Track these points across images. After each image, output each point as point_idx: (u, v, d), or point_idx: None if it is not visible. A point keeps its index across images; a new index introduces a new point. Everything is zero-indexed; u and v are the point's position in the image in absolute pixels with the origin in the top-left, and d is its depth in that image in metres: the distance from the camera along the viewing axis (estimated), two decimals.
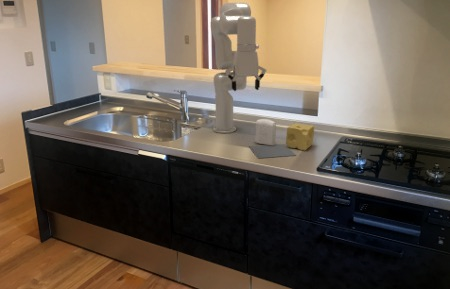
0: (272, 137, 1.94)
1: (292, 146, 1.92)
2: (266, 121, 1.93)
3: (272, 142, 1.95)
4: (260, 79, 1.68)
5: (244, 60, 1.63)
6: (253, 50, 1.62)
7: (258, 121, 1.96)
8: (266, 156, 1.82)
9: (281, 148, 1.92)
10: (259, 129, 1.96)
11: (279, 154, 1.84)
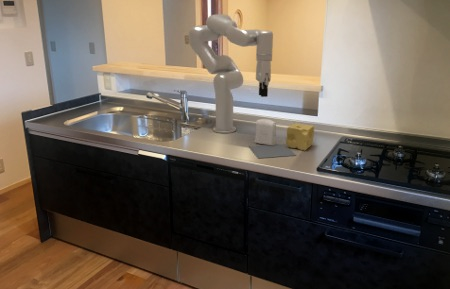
0: (272, 137, 1.94)
1: (292, 146, 1.92)
2: (266, 121, 1.93)
3: (272, 142, 1.95)
4: None
5: None
6: None
7: (258, 121, 1.96)
8: (266, 156, 1.82)
9: (281, 148, 1.92)
10: (259, 129, 1.96)
11: (279, 154, 1.84)
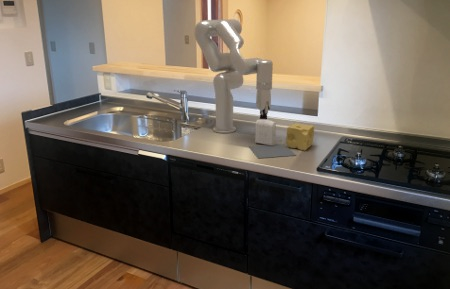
0: (272, 137, 1.94)
1: (292, 146, 1.92)
2: (266, 121, 1.93)
3: (272, 142, 1.94)
4: None
5: None
6: None
7: (258, 121, 1.95)
8: (266, 156, 1.82)
9: (281, 148, 1.92)
10: (258, 129, 1.96)
11: (279, 154, 1.84)
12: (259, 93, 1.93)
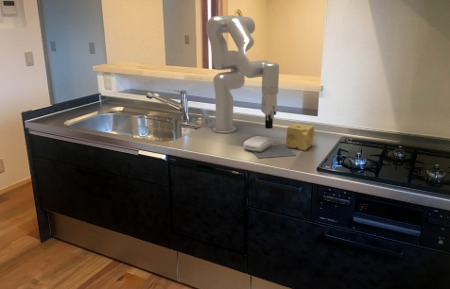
0: (267, 147, 1.91)
1: (292, 146, 1.92)
2: (253, 150, 1.87)
3: (270, 145, 1.93)
4: None
5: None
6: None
7: (245, 148, 1.90)
8: (266, 156, 1.82)
9: (281, 148, 1.92)
10: None
11: (279, 154, 1.84)
12: (265, 97, 1.85)
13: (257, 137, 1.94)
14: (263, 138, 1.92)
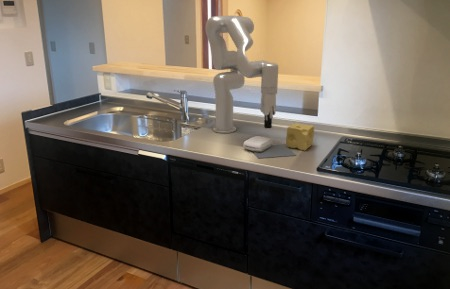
0: (267, 147, 1.91)
1: (292, 146, 1.92)
2: (253, 150, 1.87)
3: (270, 145, 1.93)
4: None
5: None
6: None
7: None
8: (266, 156, 1.82)
9: (281, 148, 1.92)
10: None
11: (279, 154, 1.84)
12: (264, 97, 1.86)
13: (257, 137, 1.94)
14: (263, 138, 1.92)
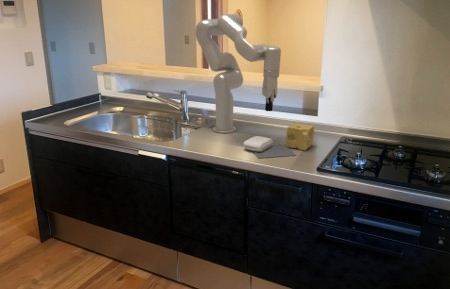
0: (267, 147, 1.91)
1: (292, 146, 1.92)
2: (253, 150, 1.87)
3: (270, 145, 1.93)
4: None
5: None
6: None
7: None
8: (266, 156, 1.82)
9: (281, 148, 1.92)
10: None
11: (279, 154, 1.84)
12: (266, 80, 1.90)
13: (257, 137, 1.94)
14: (263, 138, 1.92)
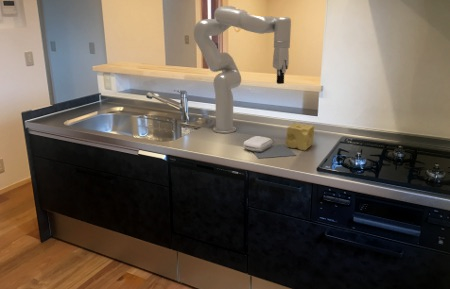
0: (267, 147, 1.91)
1: (292, 146, 1.92)
2: (253, 150, 1.87)
3: (270, 145, 1.93)
4: None
5: None
6: None
7: None
8: (266, 156, 1.82)
9: (281, 148, 1.92)
10: None
11: (279, 154, 1.84)
12: (276, 52, 1.88)
13: (257, 137, 1.94)
14: (263, 138, 1.92)
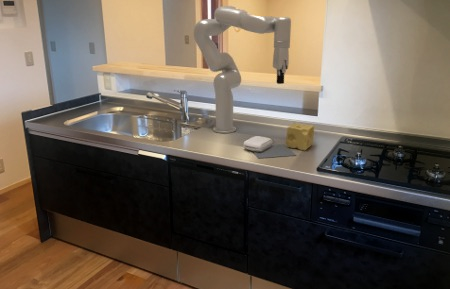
0: (267, 147, 1.91)
1: (292, 146, 1.92)
2: (253, 150, 1.87)
3: (270, 145, 1.93)
4: None
5: None
6: None
7: None
8: (266, 156, 1.82)
9: (281, 148, 1.92)
10: None
11: (279, 154, 1.84)
12: (276, 52, 1.88)
13: (257, 137, 1.94)
14: (263, 138, 1.92)
